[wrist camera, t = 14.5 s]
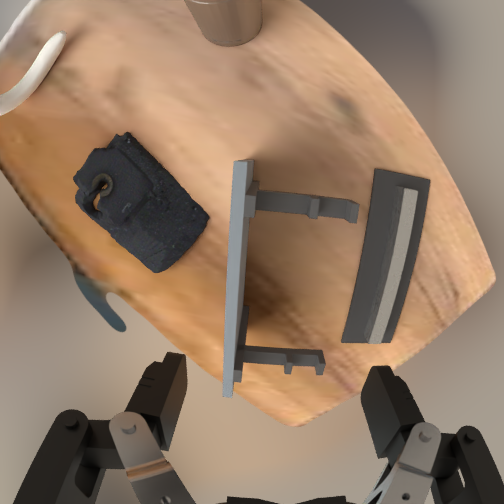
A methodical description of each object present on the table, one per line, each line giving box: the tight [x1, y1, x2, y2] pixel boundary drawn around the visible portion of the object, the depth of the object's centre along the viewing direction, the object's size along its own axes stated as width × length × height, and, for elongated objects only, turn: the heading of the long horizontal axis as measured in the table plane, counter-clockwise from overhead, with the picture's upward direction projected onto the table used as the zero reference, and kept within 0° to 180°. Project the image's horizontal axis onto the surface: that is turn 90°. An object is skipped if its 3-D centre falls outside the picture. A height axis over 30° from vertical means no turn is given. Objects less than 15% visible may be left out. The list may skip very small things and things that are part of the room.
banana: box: [0, 30, 66, 115], centre depth 29 cm, size 5×19×15 cm, turn 134°
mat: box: [341, 169, 430, 343], centre depth 44 cm, size 30×10×1 cm, turn 176°
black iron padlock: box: [73, 132, 209, 273], centre depth 41 cm, size 15×22×5 cm
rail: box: [364, 186, 418, 344], centre depth 43 cm, size 26×2×3 cm, turn 176°
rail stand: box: [223, 159, 359, 398], centre depth 37 cm, size 28×13×16 cm, turn 176°
